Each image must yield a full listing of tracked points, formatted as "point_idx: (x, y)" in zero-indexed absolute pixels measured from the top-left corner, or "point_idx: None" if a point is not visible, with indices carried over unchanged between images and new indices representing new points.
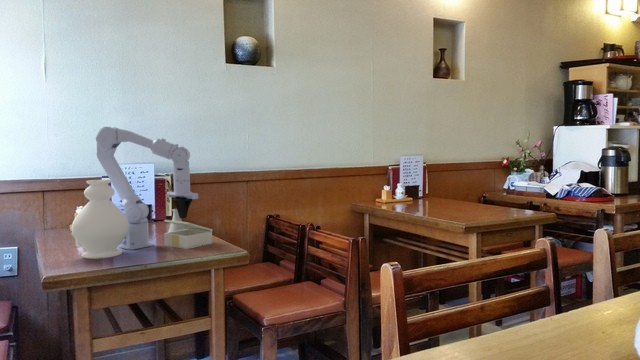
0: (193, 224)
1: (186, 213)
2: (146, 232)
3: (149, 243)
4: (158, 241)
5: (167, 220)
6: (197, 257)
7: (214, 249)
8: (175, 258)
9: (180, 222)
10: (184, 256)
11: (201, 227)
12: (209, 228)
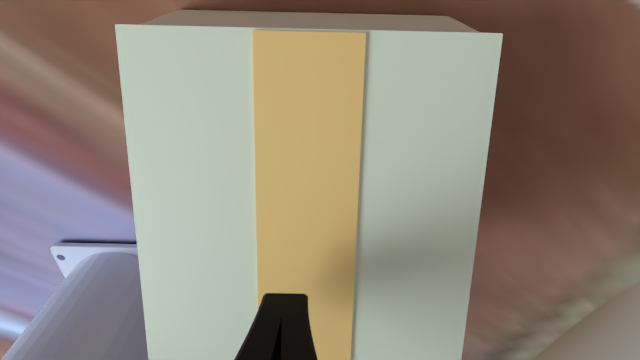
0: (466, 298)
1: (311, 343)
2: (142, 340)
3: (134, 252)
4: (52, 159)
5: (193, 357)
6: (571, 301)
7: (575, 161)
8: (486, 338)
9: (369, 357)
10: (501, 310)
11: (475, 197)
12: (495, 86)
